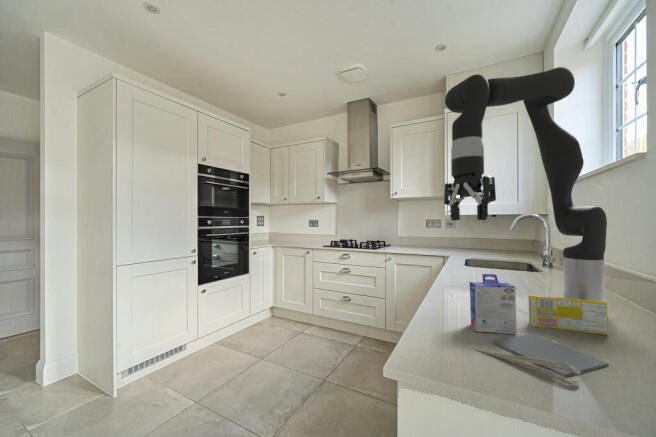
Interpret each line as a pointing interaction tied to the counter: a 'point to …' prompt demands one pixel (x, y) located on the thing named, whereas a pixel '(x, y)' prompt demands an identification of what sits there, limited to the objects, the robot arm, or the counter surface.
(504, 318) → the ink cartridge box
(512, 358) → the animal jaw bone
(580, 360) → the mat
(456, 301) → the counter surface
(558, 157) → the robot arm
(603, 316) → the candy box
